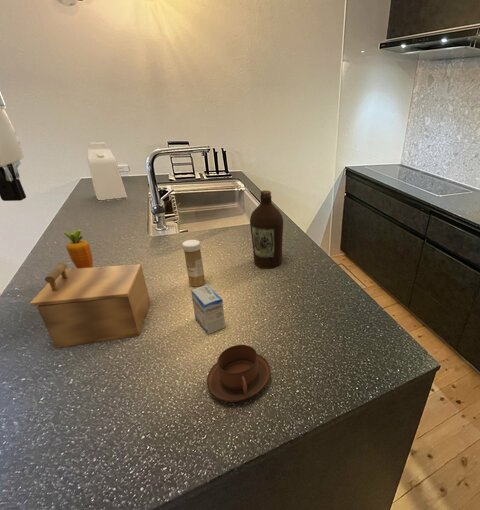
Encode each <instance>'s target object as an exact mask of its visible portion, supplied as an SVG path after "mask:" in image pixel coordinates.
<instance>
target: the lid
mask: <svg viewBox="0 0 480 510" xmlns="http://www.w3.org/2000/svg"><path fill="white" fill-rule="evenodd" d="M141 267H142V264H141V263H137V264H123V265H120V264H119V265H108V266H107V265H106V266H93V267H92V268H78V269H77V268H67V264H66V263H64V262H60V263H57V265H55V267H54V268H53V269H52V270H51V271H50V272H49V273H48V274H47V275H46V276H45V278H44V282H46V285H45V286H44V287H43V288H42V289H41V290H40V291H39V292H38V293H37V295H36V296H35V297H34V298H33V299H32V300H31V301H30V302H29V305H30V307H38V306H40V305H49V304H59V303H69V302H79V301H89V300H99V299H109V298H119V297H128V296H129V294H130V291H131V289H132V287H133V284H134V282H135V280H136V278H137V275H138V273H139V271H140V269H141Z"/></svg>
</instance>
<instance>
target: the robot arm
mask: <svg viewBox="0 0 480 510" xmlns="http://www.w3.org/2000/svg"><path fill="white" fill-rule="evenodd" d="M6 109H7V106H6V103H5V100H4V98H3V95H2V93H1V91H0V199H1V200H2V201H3V202H20V201H21V202H22V201H24V200H25V199H26V198H27V194H26V192H25V190H24V187H23V185H22V182H21V180H20V177H21V176H20V173H19V169H18V167H19V166H20V165H21V160H22V159H23V158H24V151H23V147H22V145H21V142H20V140H19V137H18V135H17V133H16V130H15V128H14V126H13V124H12V122H11V119H10V118H9V116H8V114H7V112H6Z"/></svg>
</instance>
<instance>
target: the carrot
mask: <svg viewBox="0 0 480 510" xmlns="http://www.w3.org/2000/svg"><path fill="white" fill-rule="evenodd" d="M81 233H82V231H81V229H76V230H73V232H71V233H68V232H67V231H63V235H65V236H66V237H67V238H68V239H69V240H70V242H68V244H66V250H67V253H68V256H69V258H70V260H71V262H72V263H73V265H74V266H75V269H78V268H92V267H94V261H93V254H92V250H91V247H90V244H89V243H88V242H87V241H85V240H83V238H84V236H83V235H81Z"/></svg>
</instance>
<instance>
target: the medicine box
mask: <svg viewBox="0 0 480 510" xmlns="http://www.w3.org/2000/svg"><path fill="white" fill-rule="evenodd" d="M190 293H191V294H190V295H191V300H192V306H193V313H194V319H195V320H196V321H197V322H198V324H199V325H200V326H201V328H202V329H203V330H204V331H205V332H206V333H207V335H210V334H212V333H215V332H217V331H220V330H222V329H224V328H226V318H225V311H224V301H223V299H222V297H220V295H219V294H218V293H217V292H216V291H215V290H213V288H212V287H211V286H210V285H209V284H207V285H202V286H198V287H197V288H194V289H191V290H190Z"/></svg>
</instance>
